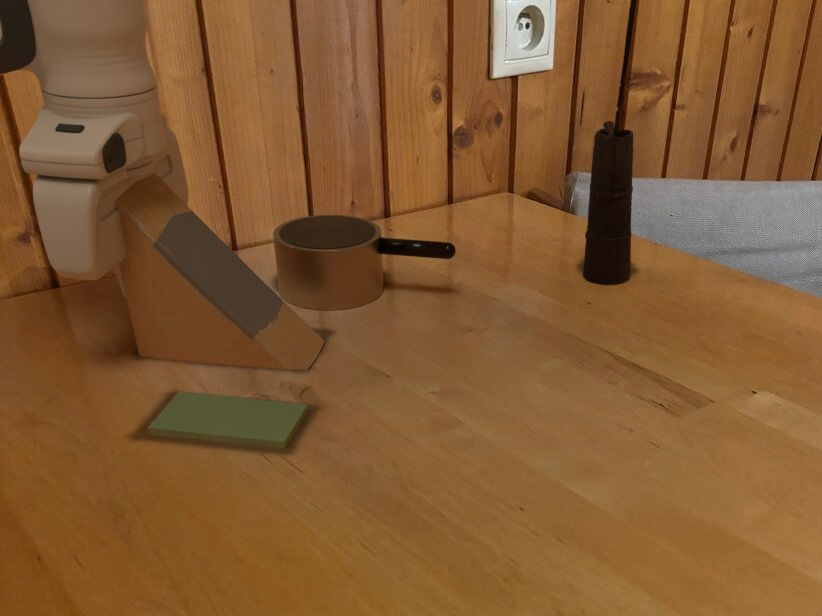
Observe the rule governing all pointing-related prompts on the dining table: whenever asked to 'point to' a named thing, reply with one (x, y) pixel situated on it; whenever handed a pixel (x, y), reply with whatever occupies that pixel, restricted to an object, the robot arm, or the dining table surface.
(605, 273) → the butter churn
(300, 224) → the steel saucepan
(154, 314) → the sandwich container
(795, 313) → the dining table surface
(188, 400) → the green rectangular slab
